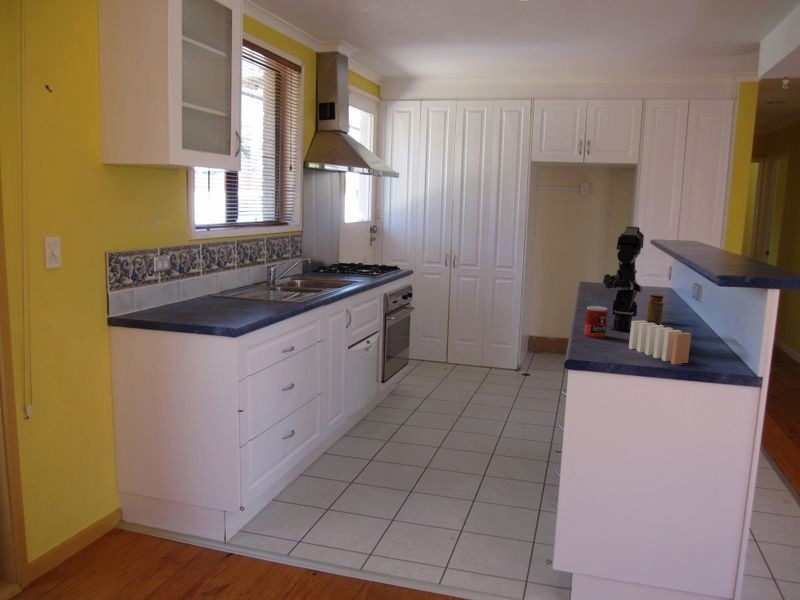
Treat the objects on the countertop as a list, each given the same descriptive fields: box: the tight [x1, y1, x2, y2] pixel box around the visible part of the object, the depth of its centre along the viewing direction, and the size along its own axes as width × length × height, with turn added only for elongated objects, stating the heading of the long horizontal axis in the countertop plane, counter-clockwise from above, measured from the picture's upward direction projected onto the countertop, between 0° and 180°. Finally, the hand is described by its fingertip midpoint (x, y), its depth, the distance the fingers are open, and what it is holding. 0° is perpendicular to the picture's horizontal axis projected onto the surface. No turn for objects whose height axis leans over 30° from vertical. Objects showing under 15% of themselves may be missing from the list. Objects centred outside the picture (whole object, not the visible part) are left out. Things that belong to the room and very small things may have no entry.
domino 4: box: [652, 327, 674, 359], centre depth 221 cm, size 2×6×10 cm, turn 112°
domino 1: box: [628, 319, 648, 350], centre depth 232 cm, size 2×6×10 cm, turn 111°
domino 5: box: [661, 329, 683, 362], centre depth 218 cm, size 2×6×10 cm, turn 111°
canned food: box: [584, 305, 609, 339], centre depth 251 cm, size 8×8×11 cm
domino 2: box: [636, 323, 657, 353], centre depth 229 cm, size 2×6×10 cm, turn 111°
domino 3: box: [644, 324, 665, 356], centre depth 225 cm, size 2×6×10 cm, turn 112°
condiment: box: [646, 294, 664, 326], centre depth 285 cm, size 7×8×12 cm
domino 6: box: [670, 332, 692, 365], centre depth 214 cm, size 2×6×10 cm, turn 111°
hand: (628, 309), depth 243 cm, fingers closed
